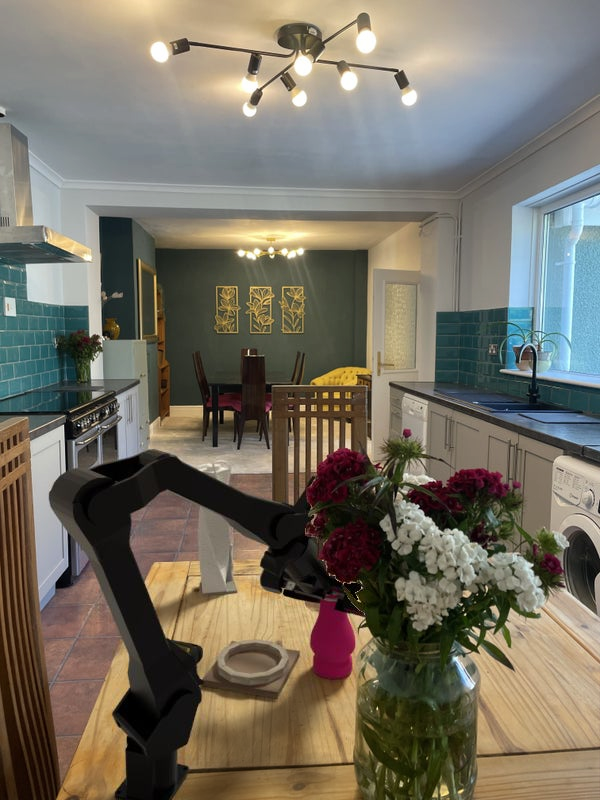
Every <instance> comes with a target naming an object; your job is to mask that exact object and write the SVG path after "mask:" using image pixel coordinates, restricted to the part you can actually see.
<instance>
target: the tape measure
mask: <svg viewBox="0 0 600 800" xmlns="http://www.w3.org/2000/svg"><path fill="white" fill-rule="evenodd" d="M171 640H172V641H173V642H174V643H176V644H177V645H178V646H180V647H181V648H183V649H184V650H185V651H187V652H188V653H189V654H191V655H192V656H193V658H194V660H195V663H196V666H197V665H198V664H199V663H200V662H201V660H202V659H203V657H204V655H203V654H204V650H203V646H201V645H199V644H196V643H192V642H187V641H179V640H177V639H176V640H175V639H171Z"/></svg>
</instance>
